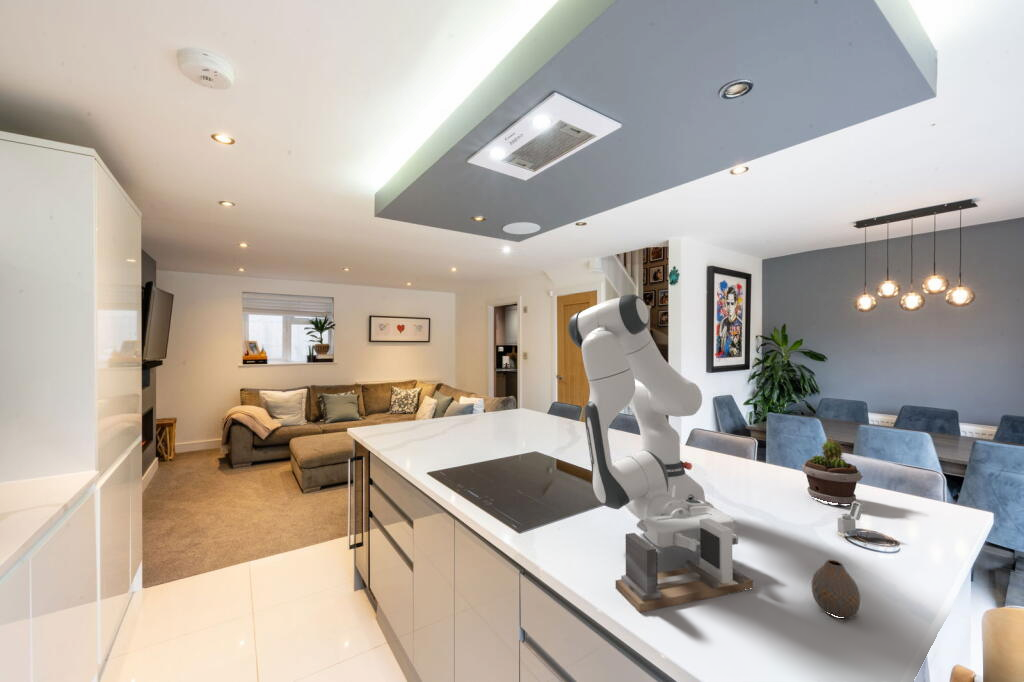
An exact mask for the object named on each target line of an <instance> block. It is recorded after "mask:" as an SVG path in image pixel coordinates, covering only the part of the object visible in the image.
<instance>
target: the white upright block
mask: <svg viewBox="0 0 1024 682" xmlns="http://www.w3.org/2000/svg"><path fill="white" fill-rule="evenodd" d="M699 565H700V568H701V569H703V570H704V571H706V572H707V573H709V574H710V575H712V576H713V577H715V578H716V579H717V580H718V581H720V582H721V583H726V582H731V581H733V569H734V568H733V567H734V566H733V545H732V530H731V529H729V528H728V527H726V526H724V525H722V524H720V523H718V522H716V521H714V520H712V519H710V518H707V519H700V550H699Z"/></svg>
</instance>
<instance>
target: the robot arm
mask: <svg viewBox="0 0 1024 682" xmlns="http://www.w3.org/2000/svg"><path fill="white" fill-rule="evenodd" d="M649 323H650V314H649V309H648V307H647V305H646V302H645V300H644V299H642V297H641V296H639V295H636V294H635V293H633V294H624V295H621V296H620V297H616V298H612V299H609V300H604V301H601V302H599V303H598V304H595V305H593V306H591V307H588V308H586V309H584V310H580V311H578V312H576V313H575V314H573V315H572V316H571V317H570V318H569V322H568V326H567V329H568V334H569V337H570V339H571V341H572V342H573V343H574V345H575V346H576V347H578V348H579V349H580V350H581V355H582V362H583V366H584V367H583V368H584V371H585V374H586V378H587V380H588V381H587V382H588V385H589V399H588V402H587V403H586V405H585V406H584V423H585V430H586V432H585V433H586V437H587V444H588V451H589V459H590V465H591V485H592V490H593V492H594V493H593V494H594V495H595V497H596V499H597V500H598V502H599V503H600V504H601V505H603V506H605V507H606V508H610V509H613V510H619V509H621V508H622V507H625V508H626V509H627V510H628V511H629V512H630V513H631V514H632V515H633V516H634V517H636V518H637V519H638V522H636V528H638V529H639V530H640V531H643V532H644V536H645V537H646V538H647V539H648V540H649V541H650V542H651V543H653V545H655V546H656V547H659V548H664V549H665V548H671V547H675V546H676V547H681V548H685V549H689V550H691V551H692V552H698V551H699V552H700V519H707V518H710V519H712V520H714V521H716V522H718V523H720V524H722V525H724V526H726V527H728V528H729V529H731V530H732V546H734V545H738V544H739V536H738V535H737V534H736V522H735V520H734V518H733V517H731V516H730V515H728V514H726V513H724V512H722V511H720V510H719V509H717V508H715V507H714V505H713V503H711V502H709V501H708V500H707V499H706V497H705V496H706V495H705V491H704V488H703V487H702V485H701V484H700V483H699V482H697V481H696V480H694V479H693V478H692V477H691V476H690V475H689V474H688V473H686V470H688V471H691V470H692V469H693V465H692V463H690V462H688V461H684V462H683V461H682V460H681V438H680V435H679V432H678V431H677V430H676V429H675V428H673V427H672V426H671V424H670V423H669V421H668V419H667V416H670V417H690V416H692V417H693V416H694V415H696V414H697V413H698V412H699V410H700V409H701V406H702V403H703V396H702V395H703V394H702V391H701V389H700V387H699V386H698V385H697V384H696V383H694V382H692V381H690V380H688V379H687V378H685V377H684V376H683V375H681V374H680V373H679V372H677V370H676V369H674V368H673V367H672V366H671V365H670V364H669V363H668V362H667V361H666V359H665V358H664V356H663V355H662V354H661V351H660V350H659V348H658V346H657V344H656V342H655V341H654V339H653V337H652V334H651V332H650V331H649V329H648V325H649ZM627 407H628V408H629V409H630V410H631V411H632V413H633V415H634V417H635V419H636V422H637V425H638V428H639V434H640V446H641V447H640V449H641V450H639V451H636V452H634V453H631V454H629V455H627V456H626V457H623V458H621V459H619V460H617V461H614V462H613V461H612V454H611V449H610V448H611V447H610V443H609V429H610V426H611V424H612V422H613V421H614V420H615V418H616V417H617V416H618V415H619V414H620V413H621V412H622V411H623V410H624V409H625V408H627ZM685 469H686V470H685Z"/></svg>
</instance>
